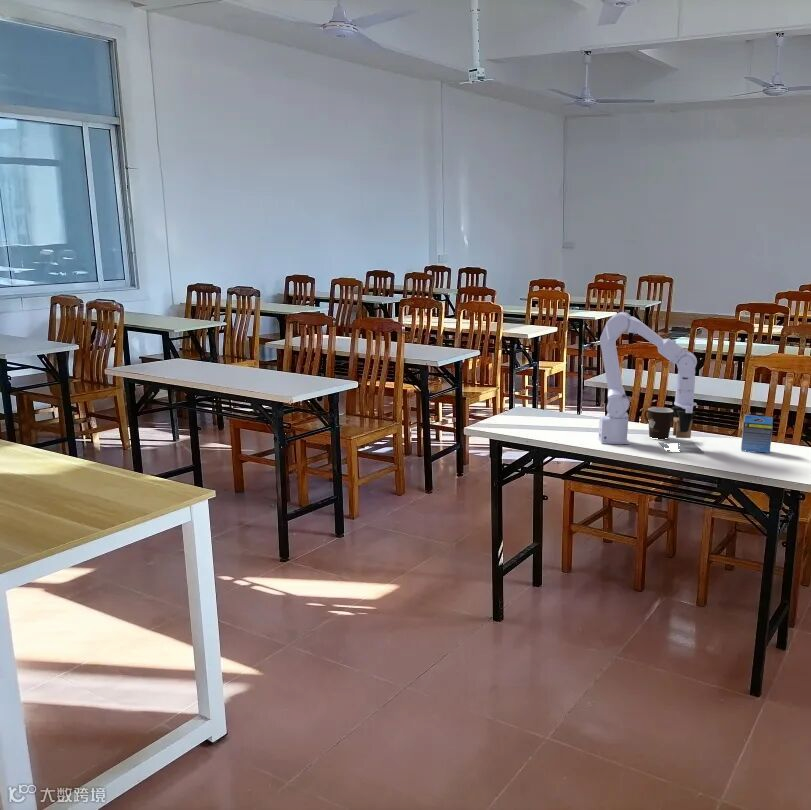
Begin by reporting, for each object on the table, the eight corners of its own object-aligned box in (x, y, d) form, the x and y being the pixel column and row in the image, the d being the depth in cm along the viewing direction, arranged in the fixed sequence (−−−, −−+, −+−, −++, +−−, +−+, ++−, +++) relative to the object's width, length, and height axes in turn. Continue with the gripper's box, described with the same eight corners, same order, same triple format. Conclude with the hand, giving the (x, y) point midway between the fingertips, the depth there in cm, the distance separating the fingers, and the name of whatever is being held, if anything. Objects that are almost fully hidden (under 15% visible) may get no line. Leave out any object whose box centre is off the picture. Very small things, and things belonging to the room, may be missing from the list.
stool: (675, 437, 274) (677, 420, 273) (672, 434, 278) (673, 417, 277) (691, 438, 274) (692, 420, 273) (687, 435, 278) (688, 417, 277)
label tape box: (769, 451, 274) (773, 414, 272) (769, 454, 271) (773, 417, 268) (740, 448, 278) (744, 412, 275) (740, 451, 274) (744, 414, 272)
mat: (666, 452, 271) (666, 451, 271) (658, 443, 283) (658, 442, 283) (703, 453, 271) (703, 452, 271) (694, 444, 282) (694, 443, 282)
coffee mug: (674, 440, 287) (676, 412, 285) (649, 440, 287) (651, 412, 285) (665, 433, 298) (667, 406, 296) (641, 432, 299) (642, 405, 297)
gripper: (703, 394, 266) (700, 435, 268) (691, 386, 280) (688, 425, 282) (681, 393, 266) (678, 434, 269) (670, 385, 280) (667, 425, 283)
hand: (682, 430), depth 276 cm, fingers closed on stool, 4 cm apart
